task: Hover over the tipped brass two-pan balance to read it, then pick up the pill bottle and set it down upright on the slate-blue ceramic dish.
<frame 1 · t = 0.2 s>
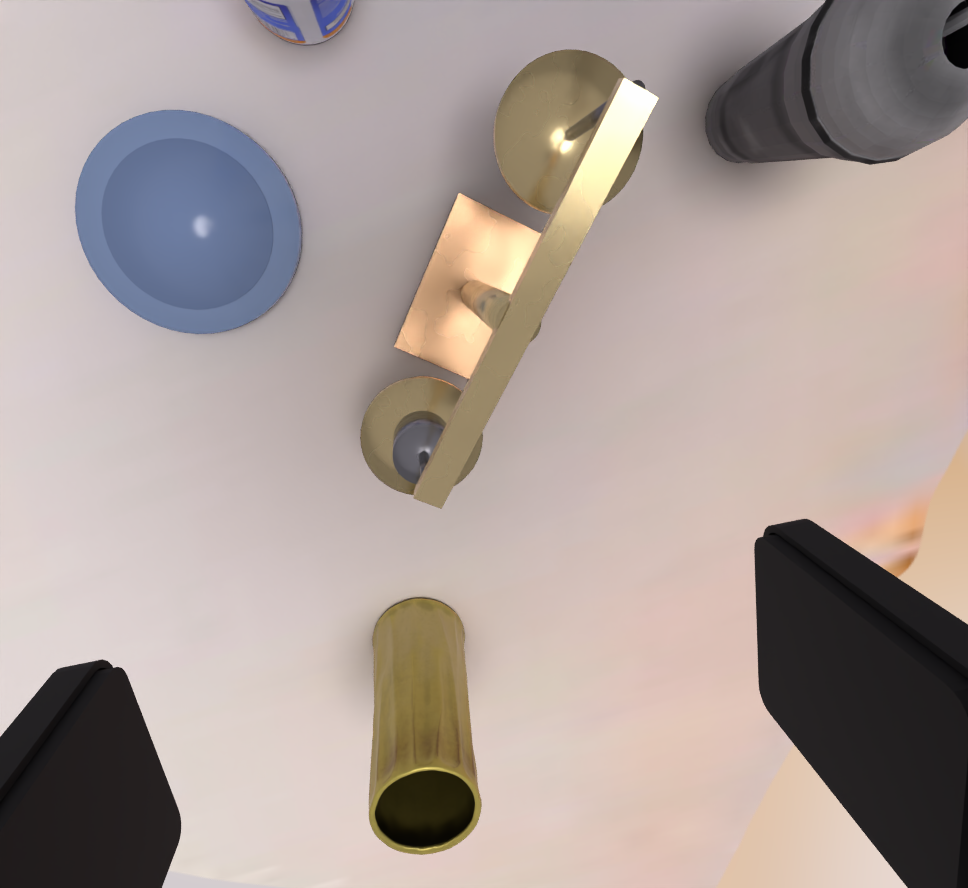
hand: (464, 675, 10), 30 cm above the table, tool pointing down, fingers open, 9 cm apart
vase: (418, 635, 44), on the table
dish: (196, 227, 35), on the table
balance: (472, 293, 38), on the table
beverage cup: (741, 120, 37), on the table
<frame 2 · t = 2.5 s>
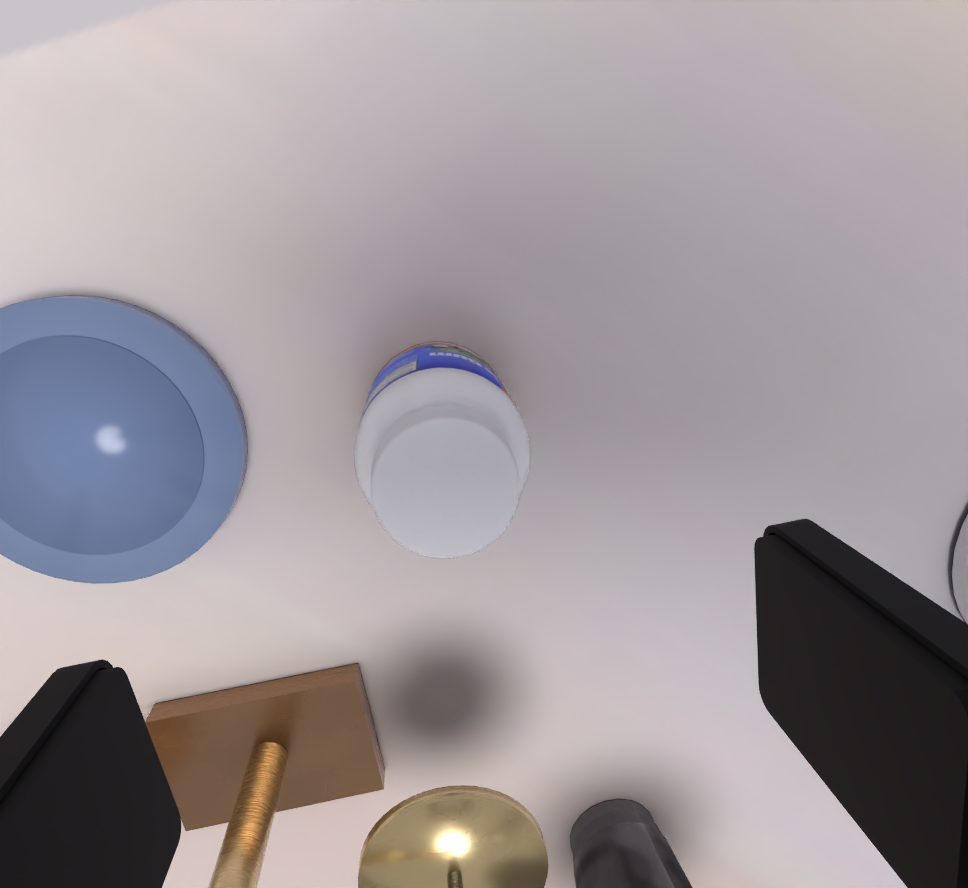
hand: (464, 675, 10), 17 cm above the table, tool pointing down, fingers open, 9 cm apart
dish: (100, 440, 25), on the table
balance: (274, 737, 30), on the table
pill bottle: (435, 405, 26), on the table
beverage cup: (611, 830, 34), on the table
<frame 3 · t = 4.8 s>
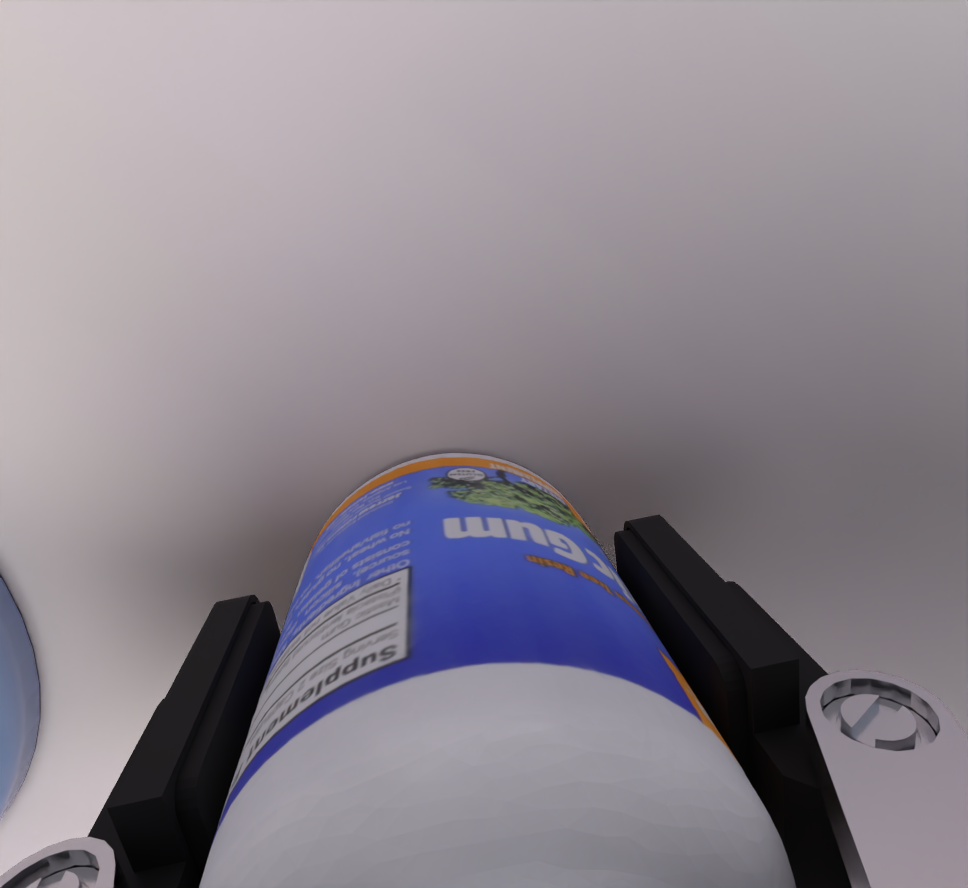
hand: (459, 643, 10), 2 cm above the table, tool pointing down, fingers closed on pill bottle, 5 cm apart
pill bottle: (450, 576, 12), on the table, touching gripper
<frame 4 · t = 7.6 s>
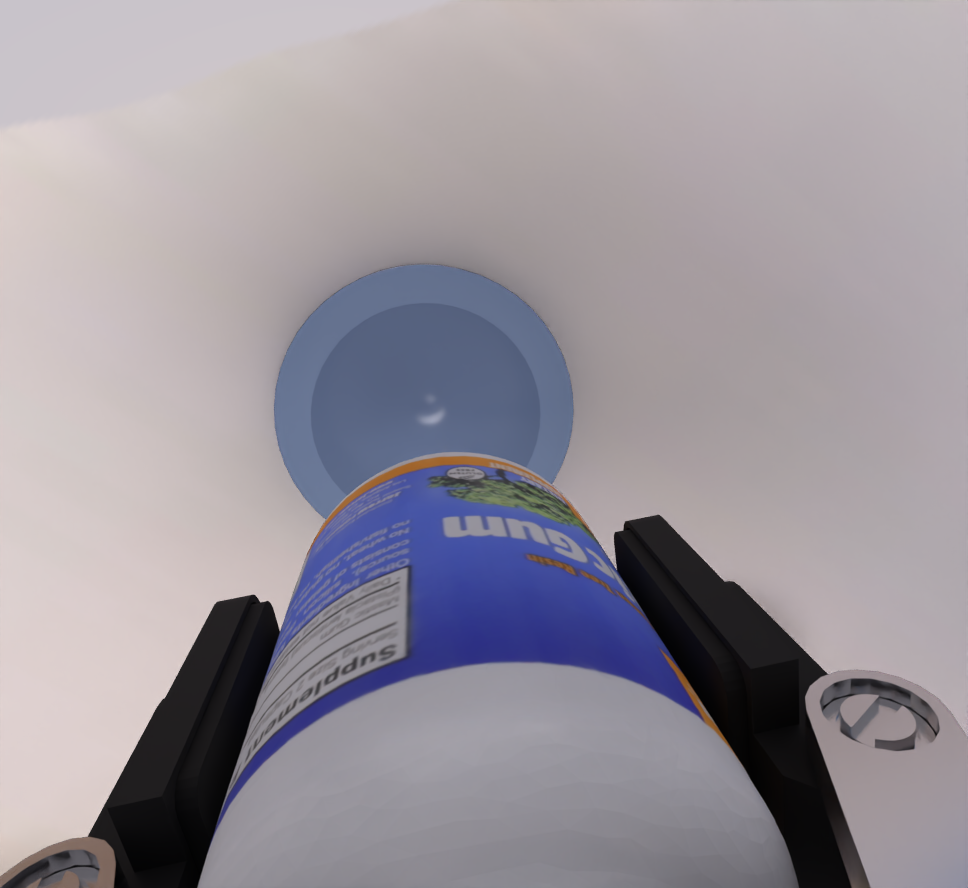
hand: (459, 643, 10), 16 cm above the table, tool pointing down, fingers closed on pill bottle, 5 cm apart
dish: (426, 411, 25), on the table
pill bottle: (449, 576, 12), point 13 cm above the table, touching gripper
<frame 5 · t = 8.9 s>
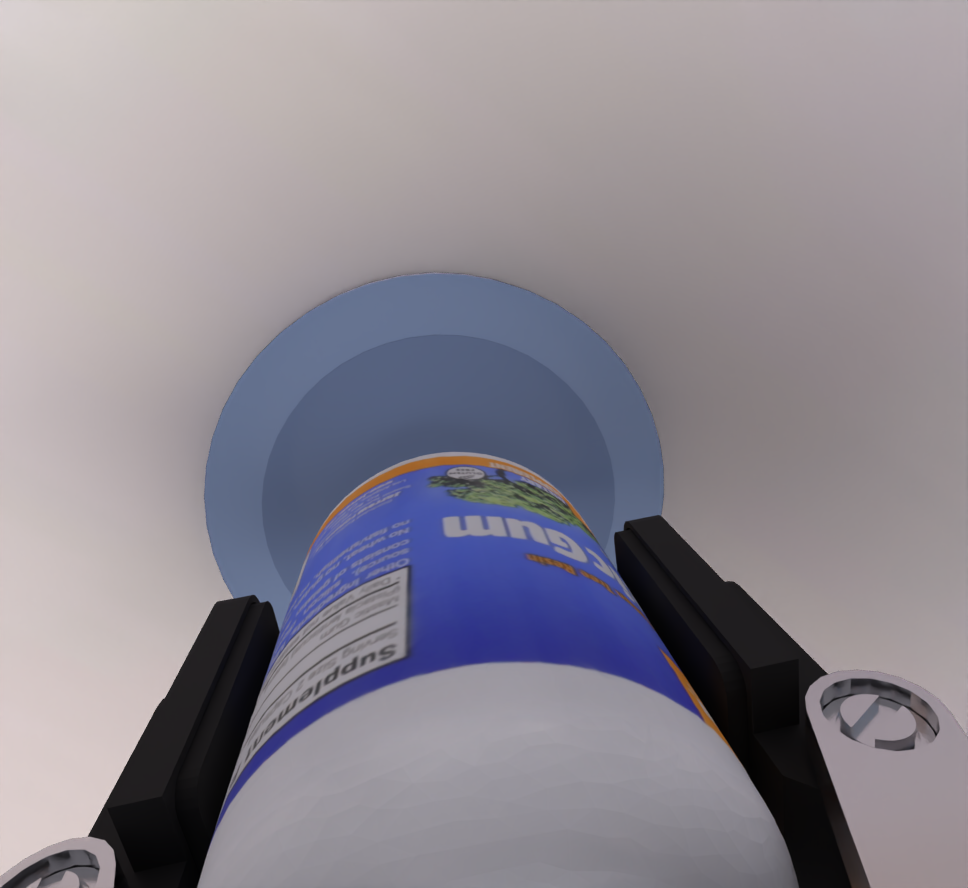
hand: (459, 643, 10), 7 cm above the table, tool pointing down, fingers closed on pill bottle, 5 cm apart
dish: (440, 492, 17), on the table
pill bottle: (449, 575, 12), point 5 cm above the table, touching gripper
when the fingers open (4 cm above the table, at t = 10.3 s): pill bottle stays where it is, resting on dish.
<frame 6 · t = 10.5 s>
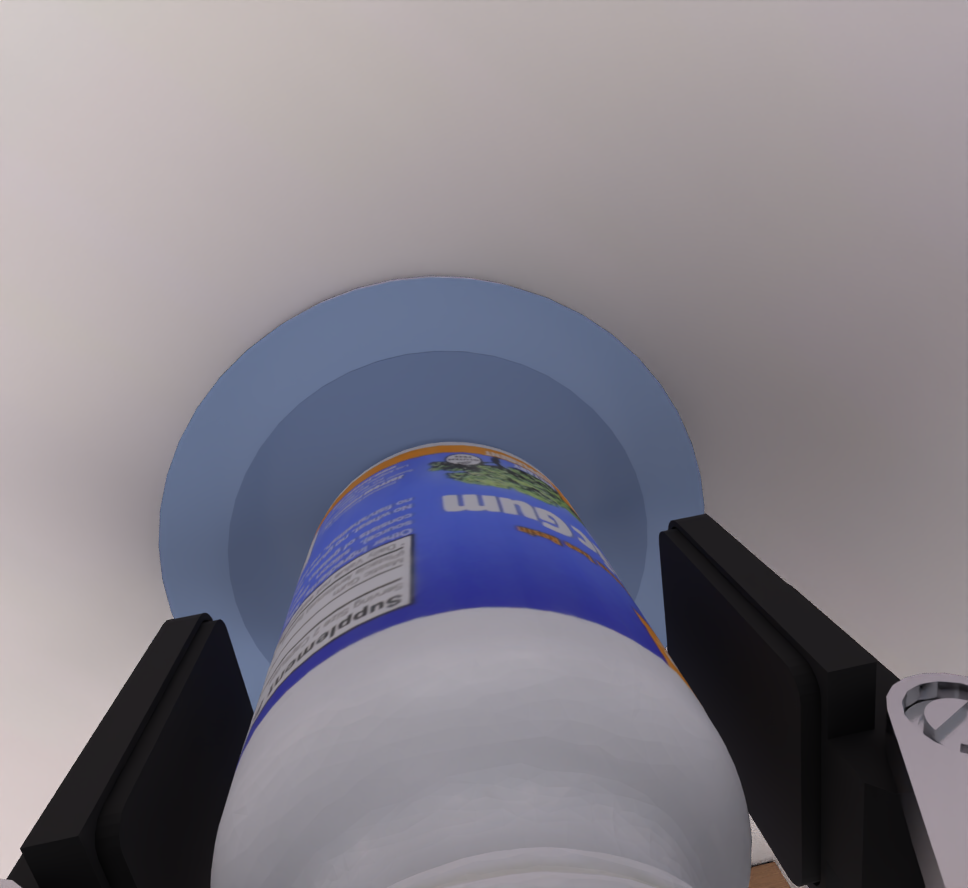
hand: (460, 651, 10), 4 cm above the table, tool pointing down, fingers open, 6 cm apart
dish: (441, 532, 14), on the table
pill bottle: (446, 559, 13), point 1 cm above the table, touching dish
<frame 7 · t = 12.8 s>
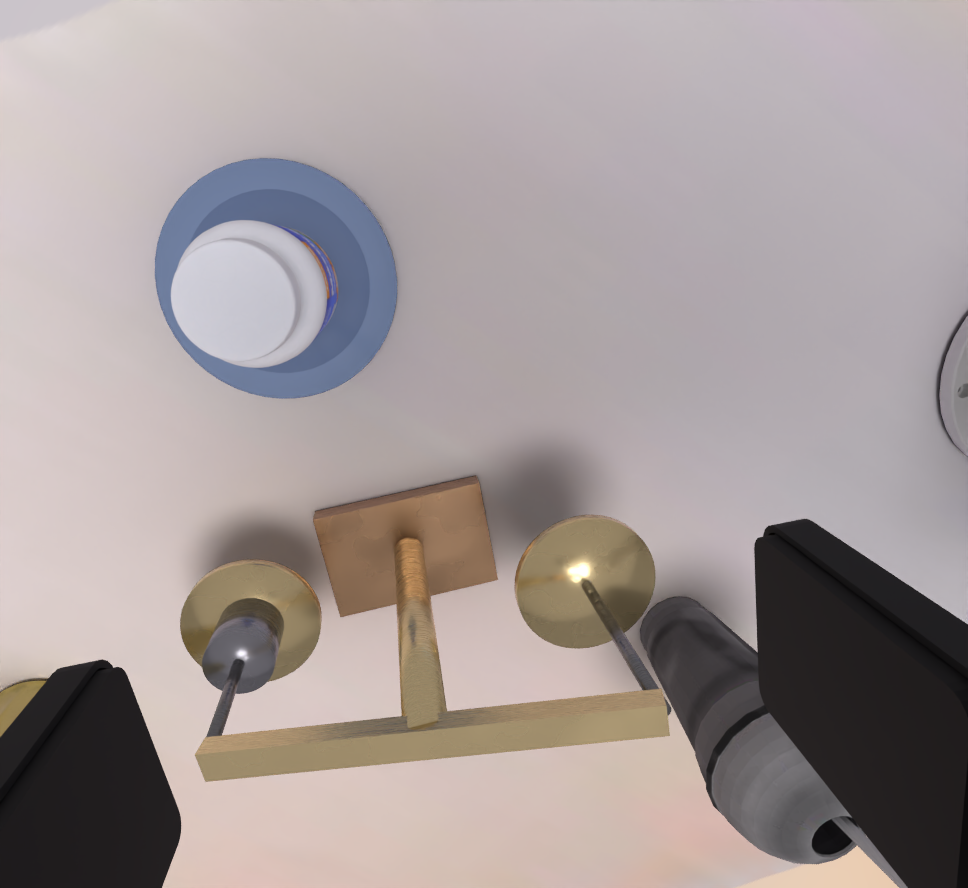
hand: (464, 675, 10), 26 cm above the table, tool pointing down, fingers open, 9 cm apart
vase: (47, 722, 37), on the table
dish: (283, 283, 32), on the table
balance: (408, 541, 37), on the table
pill bottle: (280, 285, 31), point 1 cm above the table, touching dish
beverage cup: (672, 626, 41), on the table
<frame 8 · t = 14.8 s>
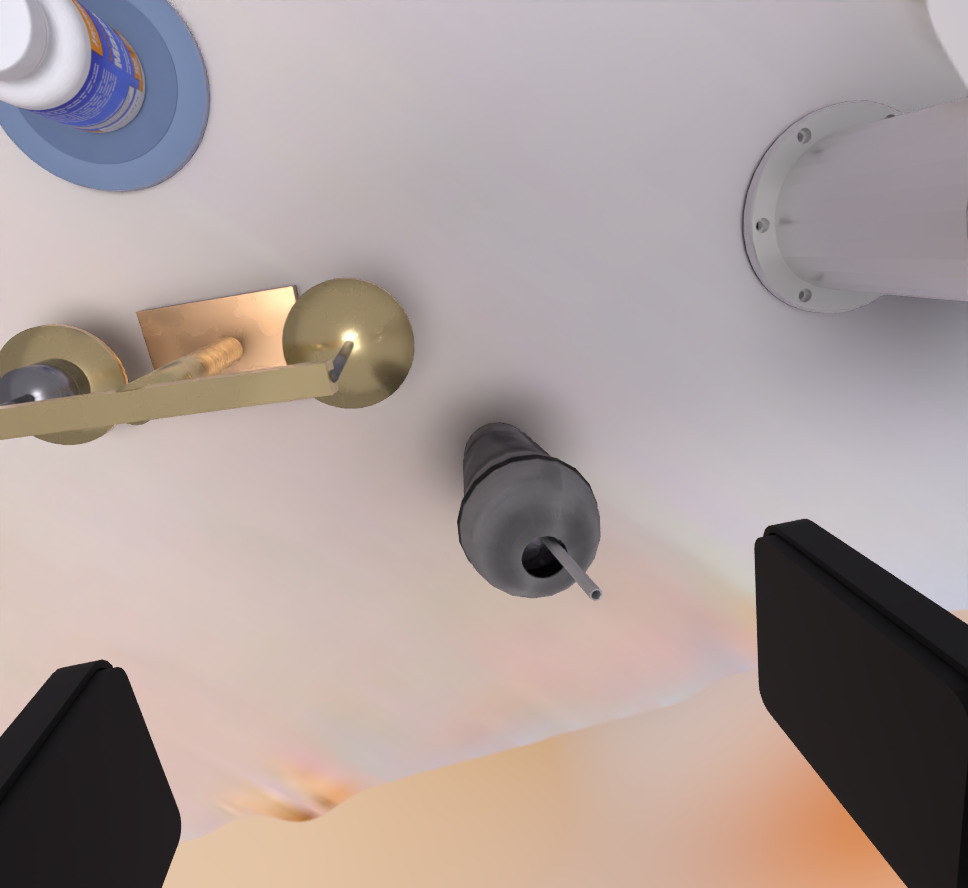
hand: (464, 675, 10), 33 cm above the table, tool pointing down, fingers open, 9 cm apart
dish: (103, 83, 35), on the table
balance: (233, 347, 40), on the table
pill bottle: (94, 79, 34), point 1 cm above the table, touching dish
beverage cup: (496, 453, 44), on the table
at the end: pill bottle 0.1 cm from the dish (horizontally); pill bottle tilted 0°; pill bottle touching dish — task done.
